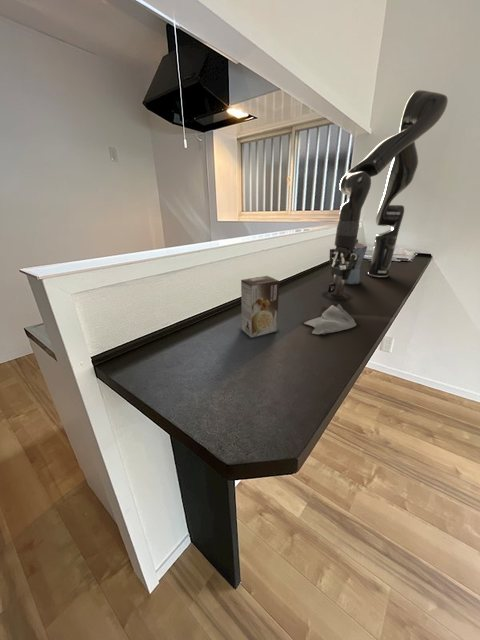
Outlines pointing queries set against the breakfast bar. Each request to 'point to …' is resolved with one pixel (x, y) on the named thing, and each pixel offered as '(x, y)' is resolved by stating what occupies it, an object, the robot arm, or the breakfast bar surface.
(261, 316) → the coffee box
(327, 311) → the cloth
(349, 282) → the moka pot
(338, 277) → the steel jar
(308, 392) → the breakfast bar surface
